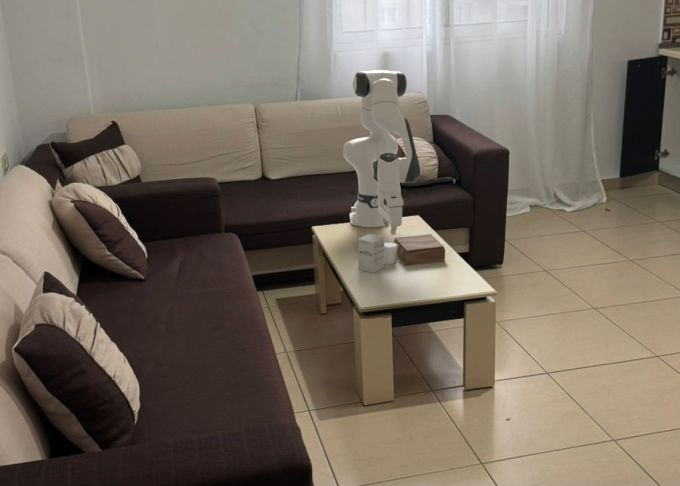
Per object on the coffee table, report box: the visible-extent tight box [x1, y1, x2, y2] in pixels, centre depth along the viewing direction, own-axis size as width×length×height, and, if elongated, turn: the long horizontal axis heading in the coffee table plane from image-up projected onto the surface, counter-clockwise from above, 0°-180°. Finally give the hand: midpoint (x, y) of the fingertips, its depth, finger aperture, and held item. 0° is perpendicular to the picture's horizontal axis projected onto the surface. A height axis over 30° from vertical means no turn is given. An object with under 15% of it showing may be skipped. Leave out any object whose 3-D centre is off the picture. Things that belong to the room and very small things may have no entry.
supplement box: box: [358, 233, 385, 274], centre depth 329 cm, size 7×7×13 cm
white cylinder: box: [384, 241, 398, 265], centre depth 336 cm, size 7×7×7 cm
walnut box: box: [393, 233, 446, 266], centre depth 341 cm, size 16×16×6 cm
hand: (389, 230), depth 333 cm, fingers open, 8 cm apart
